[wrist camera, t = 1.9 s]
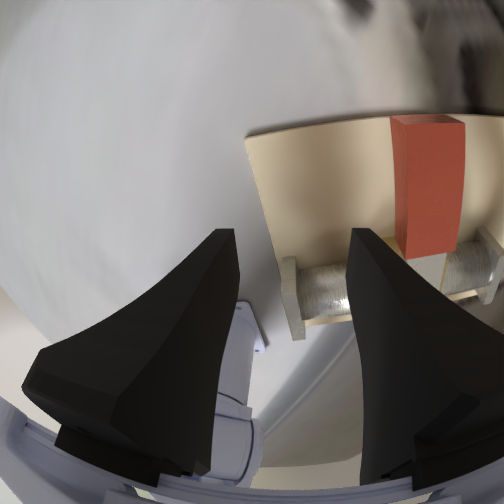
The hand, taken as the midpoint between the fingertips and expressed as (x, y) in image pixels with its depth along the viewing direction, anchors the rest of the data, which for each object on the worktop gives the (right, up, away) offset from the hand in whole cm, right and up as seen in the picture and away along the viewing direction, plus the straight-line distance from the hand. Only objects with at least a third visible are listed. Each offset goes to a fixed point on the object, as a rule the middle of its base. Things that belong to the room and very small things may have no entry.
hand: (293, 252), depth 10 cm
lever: (+8, +1, +5) cm, 10 cm away
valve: (+10, -1, +12) cm, 16 cm away
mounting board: (+11, +2, +10) cm, 15 cm away
